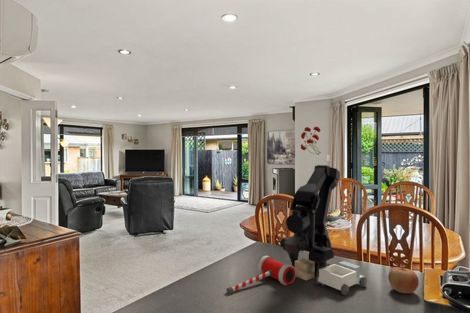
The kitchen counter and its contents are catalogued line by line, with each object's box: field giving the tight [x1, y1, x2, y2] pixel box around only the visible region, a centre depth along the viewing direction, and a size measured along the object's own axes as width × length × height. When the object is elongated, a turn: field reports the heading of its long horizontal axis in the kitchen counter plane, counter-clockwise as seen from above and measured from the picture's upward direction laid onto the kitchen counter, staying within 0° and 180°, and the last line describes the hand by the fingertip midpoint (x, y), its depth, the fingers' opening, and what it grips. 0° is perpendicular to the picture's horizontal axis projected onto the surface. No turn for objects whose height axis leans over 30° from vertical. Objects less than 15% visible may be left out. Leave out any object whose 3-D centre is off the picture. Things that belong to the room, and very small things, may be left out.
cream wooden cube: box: [295, 258, 315, 281], centre depth 103 cm, size 5×5×5 cm
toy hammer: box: [226, 255, 296, 295], centre depth 95 cm, size 23×12×6 cm, turn 127°
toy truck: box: [315, 260, 368, 296], centre depth 96 cm, size 13×10×6 cm
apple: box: [387, 264, 420, 294], centre depth 92 cm, size 8×8×8 cm
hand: (305, 273), depth 103 cm, fingers open, 9 cm apart
